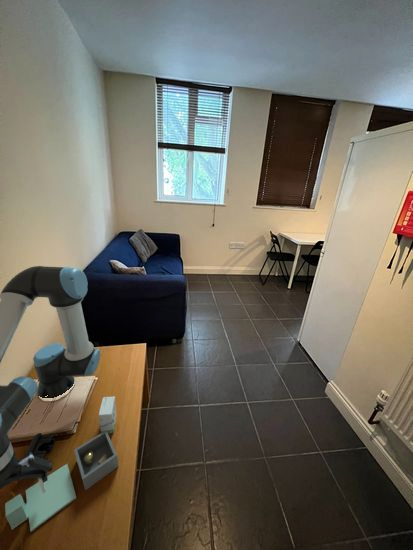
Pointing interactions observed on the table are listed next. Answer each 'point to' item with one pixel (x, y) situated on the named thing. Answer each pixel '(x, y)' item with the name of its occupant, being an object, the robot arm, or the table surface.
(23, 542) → the table surface
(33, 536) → the table surface
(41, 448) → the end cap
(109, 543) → the table surface
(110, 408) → the ink box
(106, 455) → the walnut part
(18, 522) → the lid
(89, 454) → the brass part
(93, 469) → the tub
